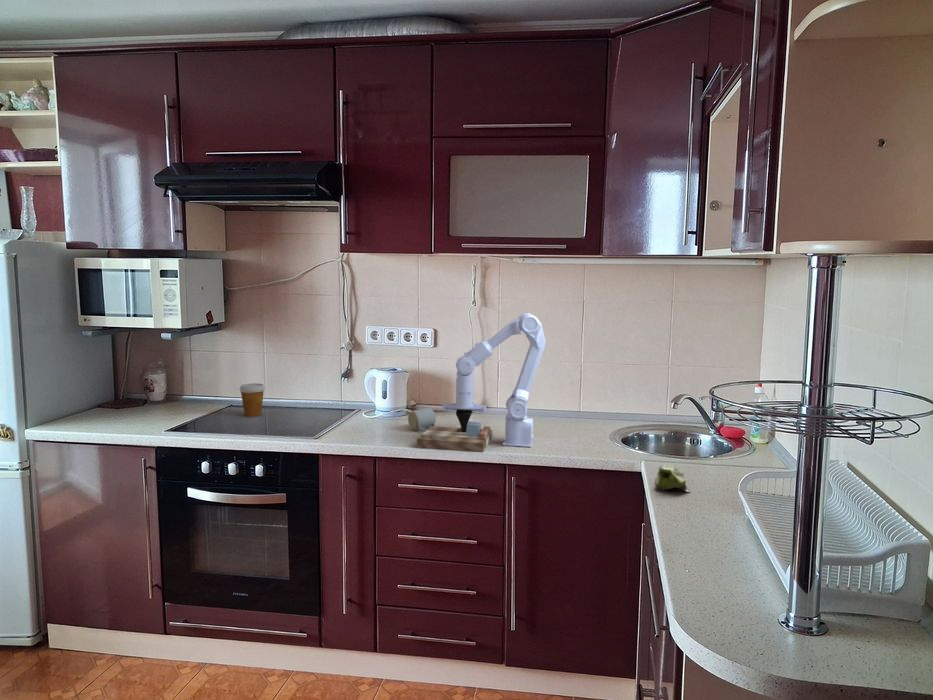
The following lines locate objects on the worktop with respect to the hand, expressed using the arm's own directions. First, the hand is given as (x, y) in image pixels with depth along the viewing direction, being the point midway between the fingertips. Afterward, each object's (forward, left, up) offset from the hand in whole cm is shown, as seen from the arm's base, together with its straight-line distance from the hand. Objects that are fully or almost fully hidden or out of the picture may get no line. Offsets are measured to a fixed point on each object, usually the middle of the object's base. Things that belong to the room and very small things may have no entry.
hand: (464, 431), depth 222 cm
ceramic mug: (+18, -15, -4) cm, 24 cm away
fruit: (-64, +32, -4) cm, 71 cm away
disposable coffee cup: (+90, -22, -4) cm, 93 cm away
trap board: (+3, 0, -4) cm, 5 cm away
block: (-3, 0, -1) cm, 3 cm away
